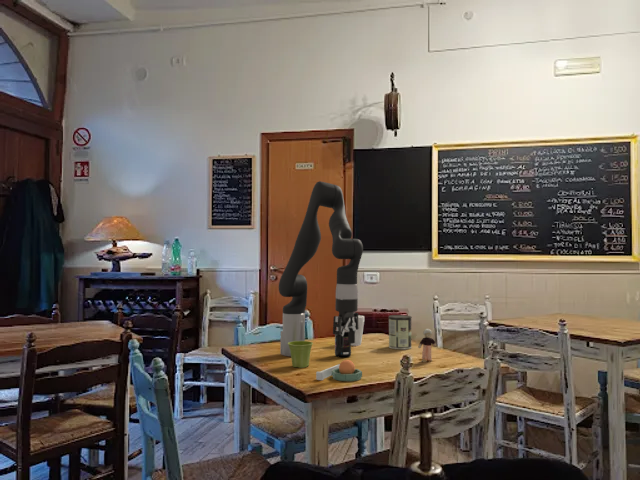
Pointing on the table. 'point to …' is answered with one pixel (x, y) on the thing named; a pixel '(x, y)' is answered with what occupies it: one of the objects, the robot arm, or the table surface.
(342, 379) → the saucer
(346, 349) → the supplement container
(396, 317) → the coffee can
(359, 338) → the foam cup
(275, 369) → the table surface
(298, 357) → the plant pot
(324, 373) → the white long bar
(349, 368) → the ball
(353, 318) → the robot arm
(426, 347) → the grandmother figurine
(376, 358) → the table surface
